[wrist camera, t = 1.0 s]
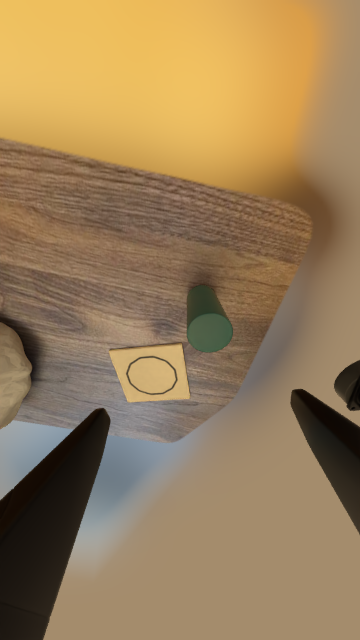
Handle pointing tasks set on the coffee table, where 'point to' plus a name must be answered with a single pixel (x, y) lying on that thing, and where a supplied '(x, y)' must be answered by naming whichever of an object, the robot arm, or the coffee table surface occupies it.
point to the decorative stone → (12, 374)
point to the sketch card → (152, 372)
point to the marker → (207, 320)
